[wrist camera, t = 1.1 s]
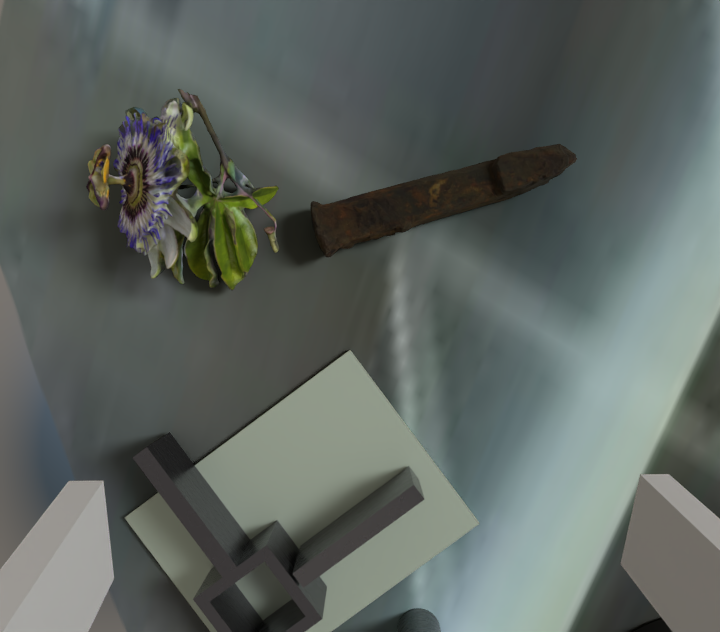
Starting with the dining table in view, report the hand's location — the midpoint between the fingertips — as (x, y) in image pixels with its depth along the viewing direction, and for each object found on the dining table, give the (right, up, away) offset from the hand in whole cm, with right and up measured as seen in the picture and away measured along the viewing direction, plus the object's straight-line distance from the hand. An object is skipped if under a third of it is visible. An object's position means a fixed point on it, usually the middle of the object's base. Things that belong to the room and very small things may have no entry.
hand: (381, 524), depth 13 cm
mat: (-5, -10, +26) cm, 29 cm away
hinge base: (-10, -10, +26) cm, 30 cm away
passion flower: (-12, +13, +26) cm, 32 cm away
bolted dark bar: (-1, -9, +26) cm, 27 cm away
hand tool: (+5, +14, +26) cm, 30 cm away
